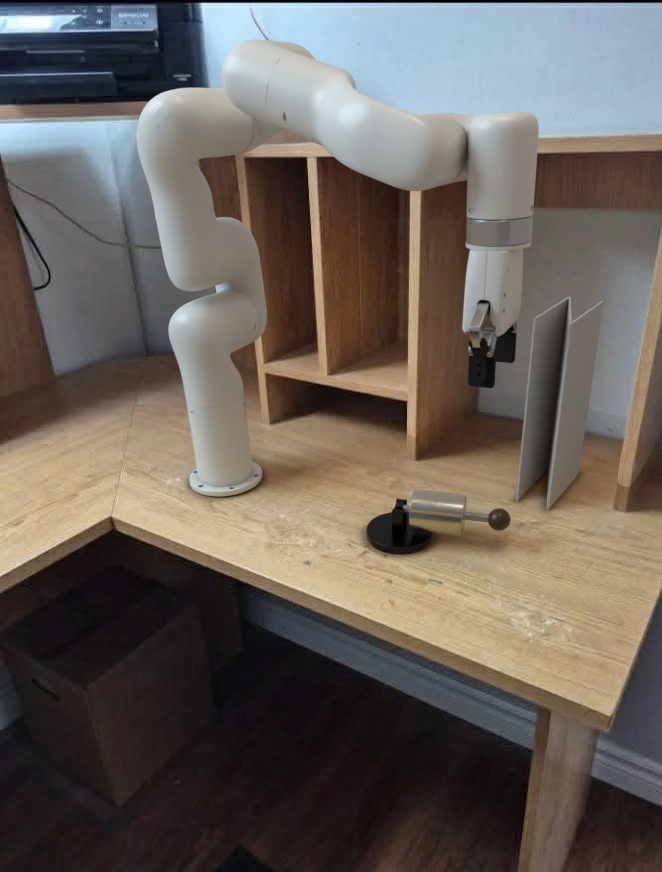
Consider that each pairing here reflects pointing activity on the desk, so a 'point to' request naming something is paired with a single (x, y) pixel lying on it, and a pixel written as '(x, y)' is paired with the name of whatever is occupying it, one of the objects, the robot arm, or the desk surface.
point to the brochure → (557, 397)
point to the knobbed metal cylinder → (447, 513)
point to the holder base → (396, 533)
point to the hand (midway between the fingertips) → (492, 373)
